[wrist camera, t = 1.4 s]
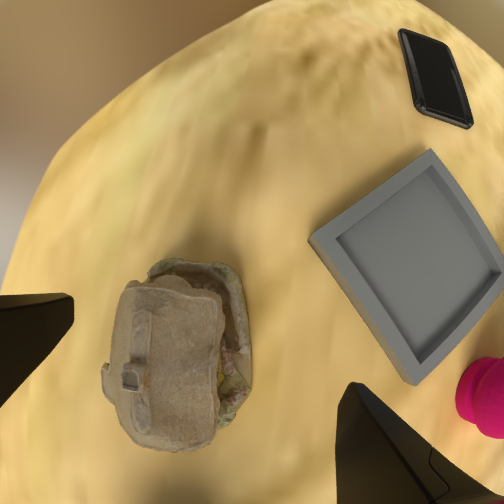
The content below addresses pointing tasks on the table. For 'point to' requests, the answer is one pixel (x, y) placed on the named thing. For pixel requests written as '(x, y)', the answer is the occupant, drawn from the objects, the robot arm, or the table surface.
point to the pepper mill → (483, 396)
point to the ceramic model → (179, 355)
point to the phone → (435, 79)
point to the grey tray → (414, 264)
